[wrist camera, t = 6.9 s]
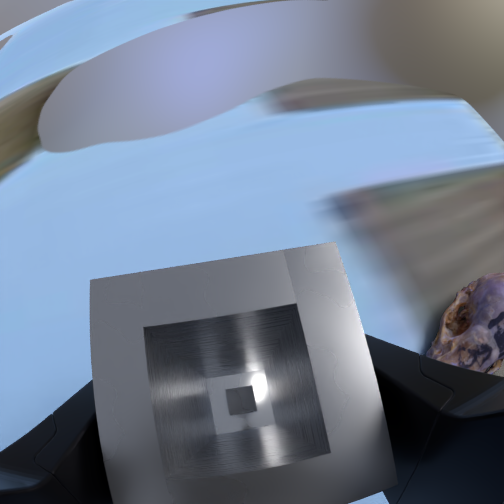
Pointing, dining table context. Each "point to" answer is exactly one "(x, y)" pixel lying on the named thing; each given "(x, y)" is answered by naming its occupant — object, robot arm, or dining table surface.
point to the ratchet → (240, 402)
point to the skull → (473, 327)
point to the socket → (230, 363)
